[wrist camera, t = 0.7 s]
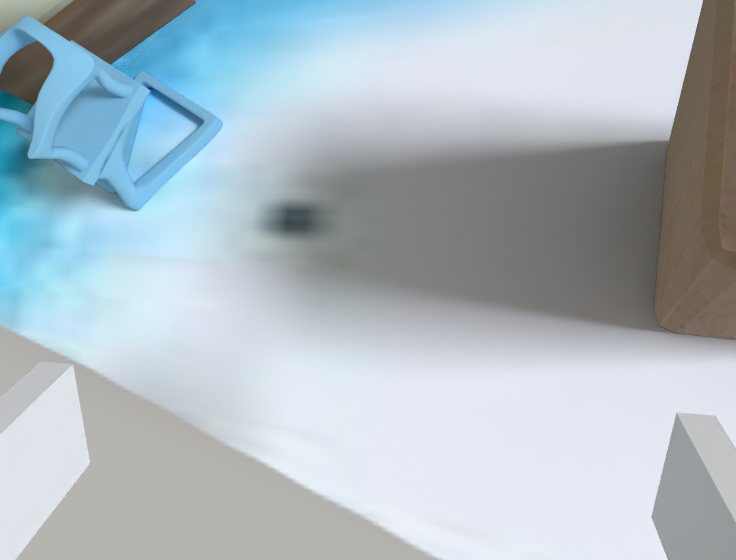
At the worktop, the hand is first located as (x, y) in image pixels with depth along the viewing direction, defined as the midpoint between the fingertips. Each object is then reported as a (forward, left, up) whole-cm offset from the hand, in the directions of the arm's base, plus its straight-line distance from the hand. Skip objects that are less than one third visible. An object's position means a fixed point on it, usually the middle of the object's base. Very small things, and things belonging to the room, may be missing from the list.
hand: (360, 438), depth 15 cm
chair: (-13, -26, -22) cm, 36 cm away
